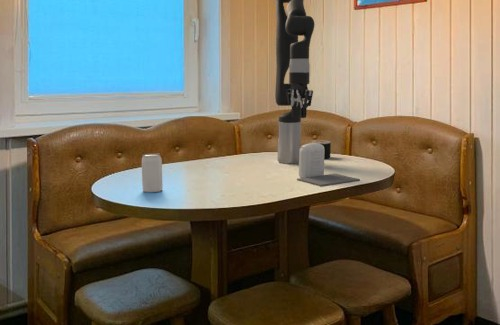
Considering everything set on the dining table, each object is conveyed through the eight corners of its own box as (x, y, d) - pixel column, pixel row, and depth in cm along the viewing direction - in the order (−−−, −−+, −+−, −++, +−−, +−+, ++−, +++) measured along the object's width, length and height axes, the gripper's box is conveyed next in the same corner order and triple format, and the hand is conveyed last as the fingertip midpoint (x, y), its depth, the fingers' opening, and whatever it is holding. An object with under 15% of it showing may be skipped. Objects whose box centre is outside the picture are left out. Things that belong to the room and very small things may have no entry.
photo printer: (318, 173, 208) (318, 141, 206) (325, 175, 205) (326, 142, 203) (296, 176, 203) (297, 143, 201) (304, 178, 199) (304, 144, 197)
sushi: (326, 159, 241) (326, 141, 240) (308, 158, 246) (308, 140, 244) (333, 157, 248) (333, 139, 247) (316, 155, 252) (316, 138, 251)
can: (143, 189, 183) (142, 153, 181) (163, 188, 184) (162, 152, 182) (141, 193, 177) (140, 156, 175) (161, 192, 177) (160, 155, 175)
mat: (297, 180, 197) (297, 178, 197) (335, 174, 206) (335, 173, 206) (320, 186, 186) (320, 184, 186) (359, 180, 195) (359, 179, 195)
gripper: (279, 71, 208) (279, 116, 211) (303, 71, 196) (302, 119, 199) (295, 71, 212) (295, 115, 215) (319, 71, 200) (318, 118, 203)
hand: (298, 117), depth 207 cm, fingers open, 4 cm apart
